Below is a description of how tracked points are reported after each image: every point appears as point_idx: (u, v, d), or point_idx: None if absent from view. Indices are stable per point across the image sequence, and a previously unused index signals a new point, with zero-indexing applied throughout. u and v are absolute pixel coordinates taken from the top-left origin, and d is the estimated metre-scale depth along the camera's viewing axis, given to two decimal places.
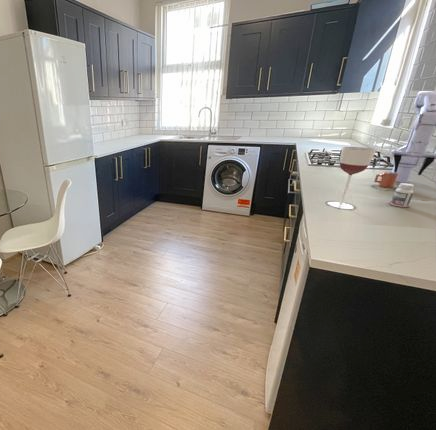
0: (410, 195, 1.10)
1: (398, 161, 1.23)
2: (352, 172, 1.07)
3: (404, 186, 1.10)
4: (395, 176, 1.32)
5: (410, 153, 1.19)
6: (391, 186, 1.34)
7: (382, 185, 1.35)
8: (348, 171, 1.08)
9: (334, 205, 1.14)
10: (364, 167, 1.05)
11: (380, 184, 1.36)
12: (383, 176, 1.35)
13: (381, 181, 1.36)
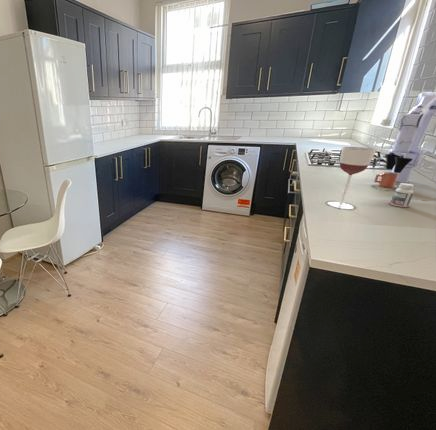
0: (410, 195, 1.10)
1: (387, 158, 1.35)
2: (352, 172, 1.07)
3: (404, 186, 1.10)
4: (395, 176, 1.32)
5: (391, 151, 1.32)
6: (391, 186, 1.34)
7: (382, 185, 1.35)
8: (348, 171, 1.08)
9: (334, 205, 1.14)
10: (364, 167, 1.05)
11: (380, 184, 1.36)
12: (383, 176, 1.35)
13: (381, 181, 1.36)
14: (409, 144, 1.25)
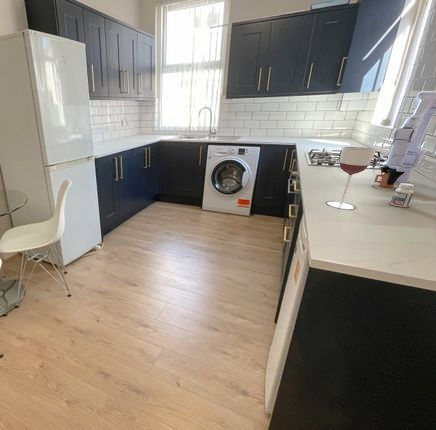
0: (410, 195, 1.10)
1: (382, 171, 1.38)
2: (352, 172, 1.07)
3: (404, 186, 1.10)
4: None
5: None
6: (391, 186, 1.34)
7: (382, 185, 1.35)
8: (348, 171, 1.08)
9: (334, 205, 1.14)
10: (364, 167, 1.05)
11: (380, 184, 1.36)
12: (383, 176, 1.35)
13: (381, 181, 1.36)
14: (402, 158, 1.29)
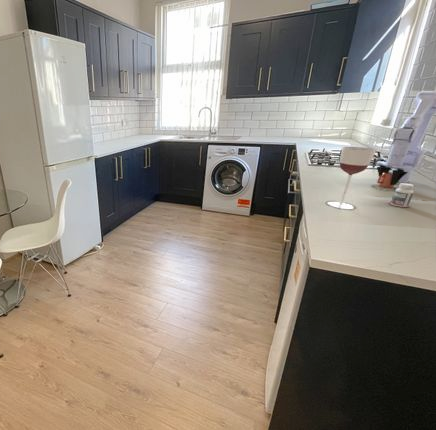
0: (410, 195, 1.10)
1: (379, 171, 1.37)
2: (352, 172, 1.07)
3: (404, 186, 1.10)
4: None
5: None
6: (393, 186, 1.34)
7: (385, 186, 1.35)
8: (348, 171, 1.08)
9: (334, 205, 1.14)
10: (364, 167, 1.05)
11: (383, 185, 1.35)
12: (386, 177, 1.34)
13: (384, 182, 1.35)
14: (404, 157, 1.29)
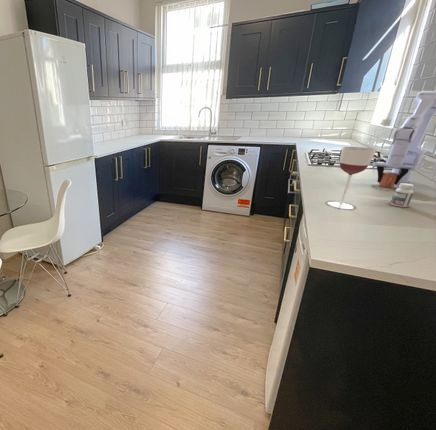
0: (410, 195, 1.10)
1: (381, 172, 1.35)
2: (352, 172, 1.07)
3: (404, 186, 1.10)
4: None
5: (390, 165, 1.32)
6: None
7: (391, 186, 1.34)
8: (348, 171, 1.08)
9: (334, 205, 1.14)
10: (364, 167, 1.05)
11: (389, 186, 1.34)
12: (392, 177, 1.32)
13: (391, 182, 1.33)
14: None
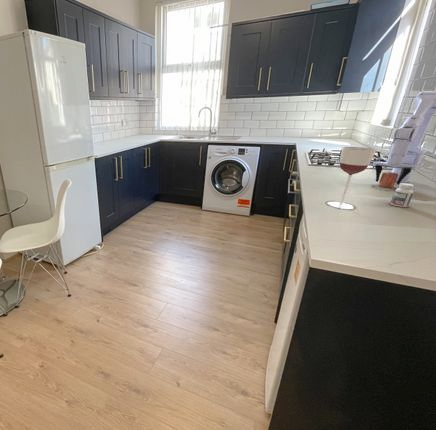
0: (410, 195, 1.10)
1: (379, 171, 1.35)
2: (352, 172, 1.07)
3: (404, 186, 1.10)
4: None
5: (390, 164, 1.31)
6: None
7: (391, 186, 1.34)
8: (348, 171, 1.08)
9: (334, 205, 1.14)
10: (364, 167, 1.05)
11: (389, 186, 1.34)
12: (392, 177, 1.32)
13: (391, 182, 1.33)
14: None
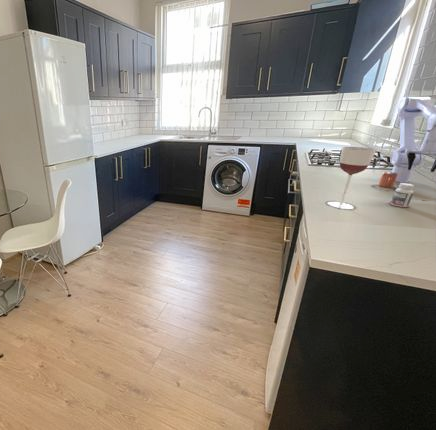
0: (410, 195, 1.10)
1: (413, 159, 1.30)
2: (352, 172, 1.07)
3: (404, 186, 1.10)
4: None
5: (424, 151, 1.26)
6: None
7: (391, 186, 1.34)
8: (348, 171, 1.08)
9: (334, 205, 1.14)
10: (364, 167, 1.05)
11: (389, 186, 1.34)
12: (392, 177, 1.32)
13: (391, 182, 1.33)
14: None
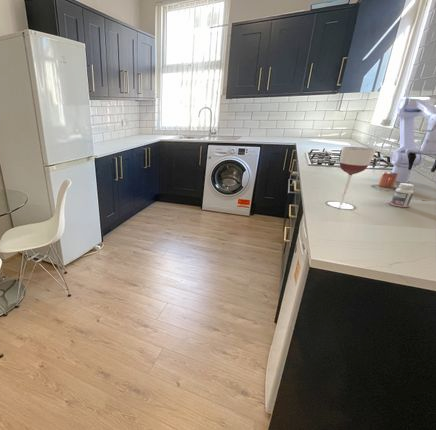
0: (410, 195, 1.10)
1: (413, 159, 1.30)
2: (352, 172, 1.07)
3: (404, 186, 1.10)
4: None
5: (425, 151, 1.26)
6: None
7: (391, 186, 1.34)
8: (348, 171, 1.08)
9: (334, 205, 1.14)
10: (364, 167, 1.05)
11: (389, 186, 1.34)
12: (392, 177, 1.32)
13: (391, 182, 1.33)
14: None
